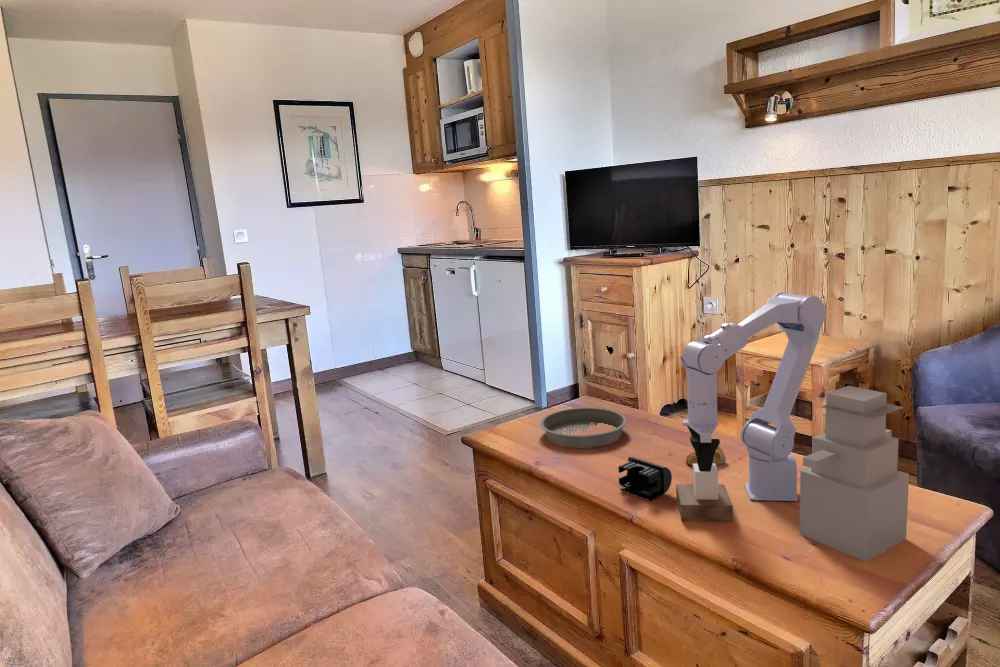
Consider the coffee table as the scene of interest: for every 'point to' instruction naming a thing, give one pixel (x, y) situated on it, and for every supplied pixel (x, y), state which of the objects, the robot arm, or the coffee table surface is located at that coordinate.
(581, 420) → the cake pan
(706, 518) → the walnut base
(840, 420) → the three tier block tower
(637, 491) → the end cap
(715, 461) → the pastry
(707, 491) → the white block
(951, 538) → the coffee table surface
